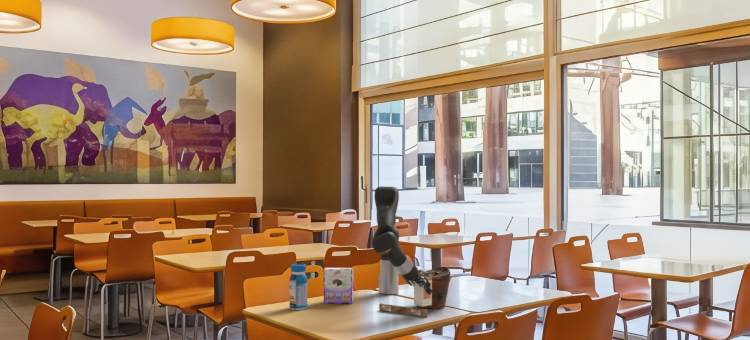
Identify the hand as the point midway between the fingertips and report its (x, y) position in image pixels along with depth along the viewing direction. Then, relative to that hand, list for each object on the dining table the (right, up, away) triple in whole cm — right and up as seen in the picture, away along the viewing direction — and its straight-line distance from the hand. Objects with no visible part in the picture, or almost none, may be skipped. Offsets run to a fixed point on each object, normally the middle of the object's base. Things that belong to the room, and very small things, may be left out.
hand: (425, 291), depth 286 cm
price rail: (-10, -9, -2) cm, 14 cm away
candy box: (-40, -10, +22) cm, 47 cm away
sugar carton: (-1, -6, -1) cm, 6 cm away
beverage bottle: (-57, -9, +9) cm, 59 cm away
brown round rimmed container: (+3, -10, +13) cm, 17 cm away
